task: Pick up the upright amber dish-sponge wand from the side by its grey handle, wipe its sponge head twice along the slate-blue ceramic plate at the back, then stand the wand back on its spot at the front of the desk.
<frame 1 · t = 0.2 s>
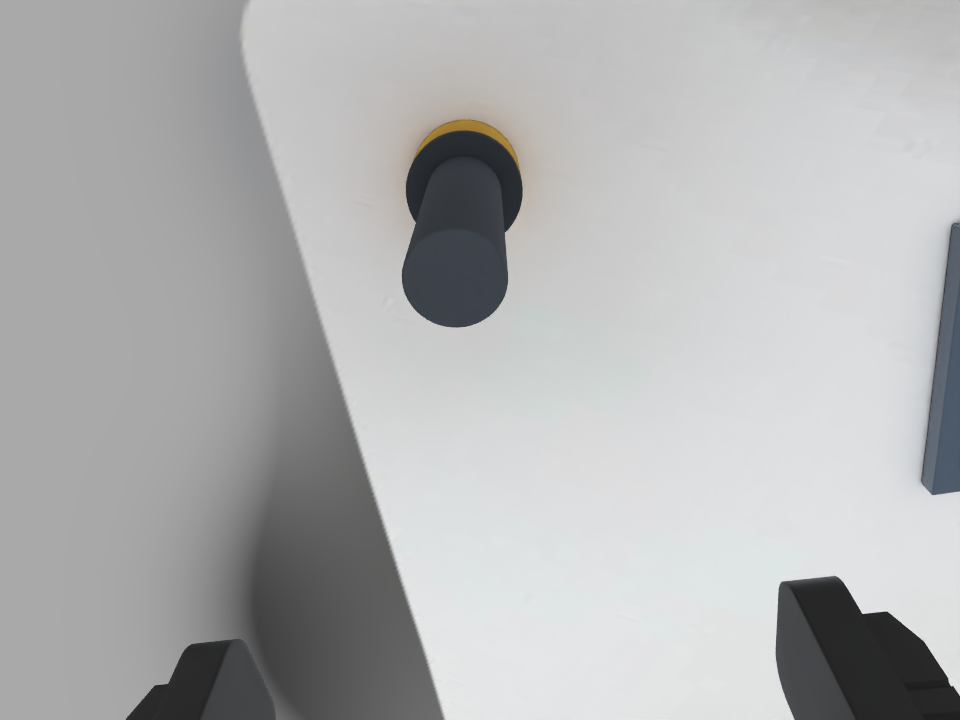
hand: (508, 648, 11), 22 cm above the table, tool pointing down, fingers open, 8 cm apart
sponge wand: (466, 174, 29), on the table
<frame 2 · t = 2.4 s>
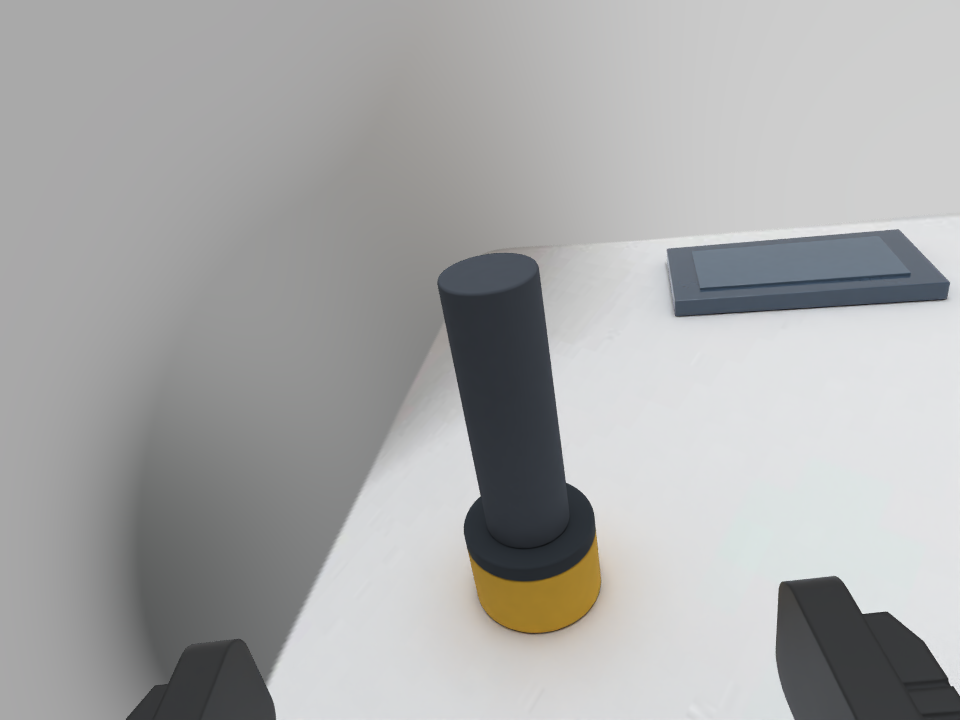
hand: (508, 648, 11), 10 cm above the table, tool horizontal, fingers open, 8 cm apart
plate: (790, 278, 42), on the table
sponge wand: (538, 582, 25), on the table
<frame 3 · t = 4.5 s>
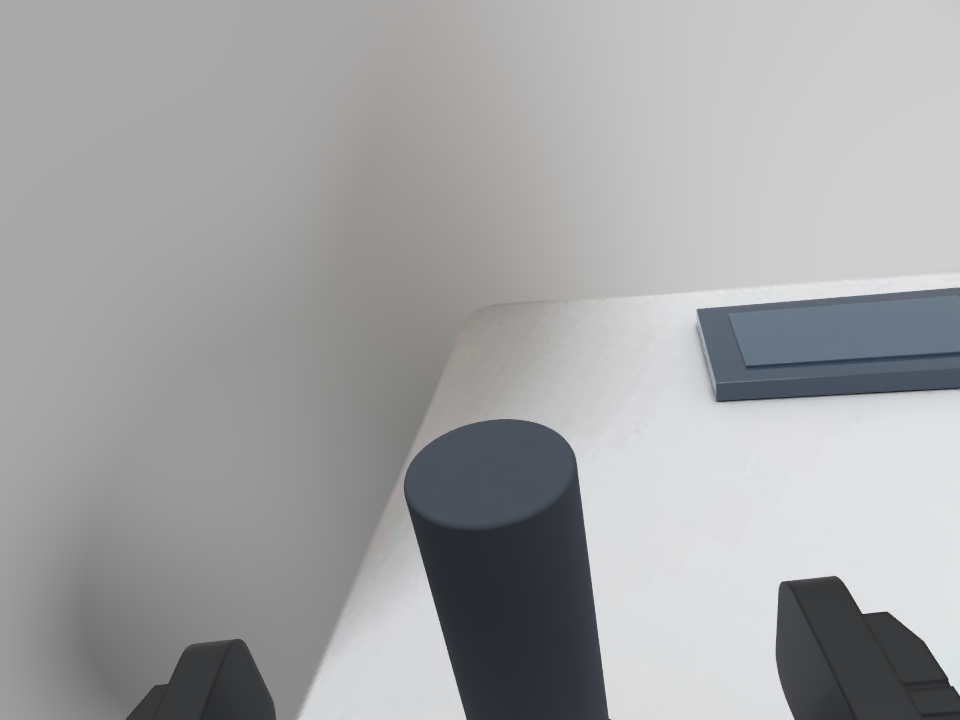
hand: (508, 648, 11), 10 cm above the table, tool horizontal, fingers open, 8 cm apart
plate: (853, 349, 35), on the table
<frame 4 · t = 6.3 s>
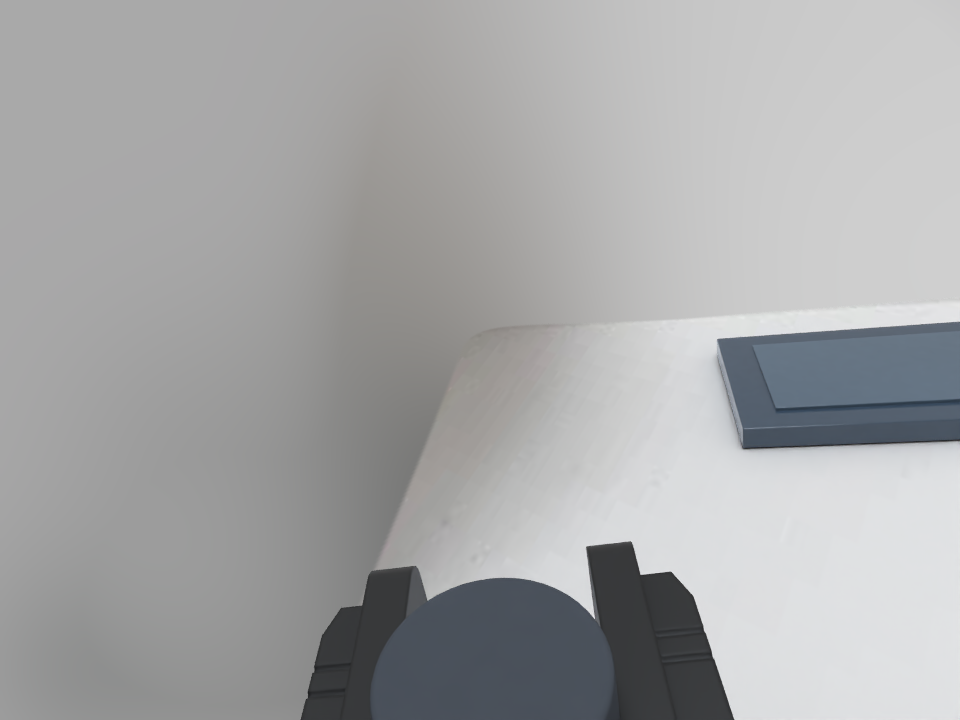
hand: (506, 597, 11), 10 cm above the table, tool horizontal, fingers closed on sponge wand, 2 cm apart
plate: (893, 388, 31), on the table
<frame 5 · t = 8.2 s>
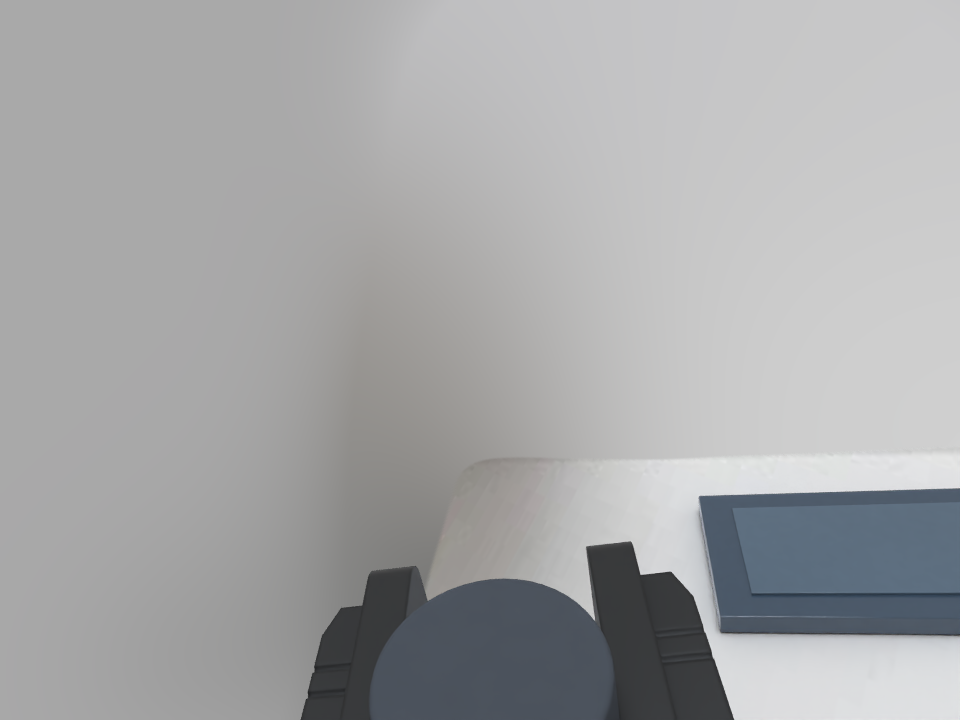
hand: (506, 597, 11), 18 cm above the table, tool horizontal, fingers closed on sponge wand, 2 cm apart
plate: (864, 563, 33), on the table
when the fingers open (10 cm above the table, at t = 22.0 s): sponge wand stays where it is, on the table.
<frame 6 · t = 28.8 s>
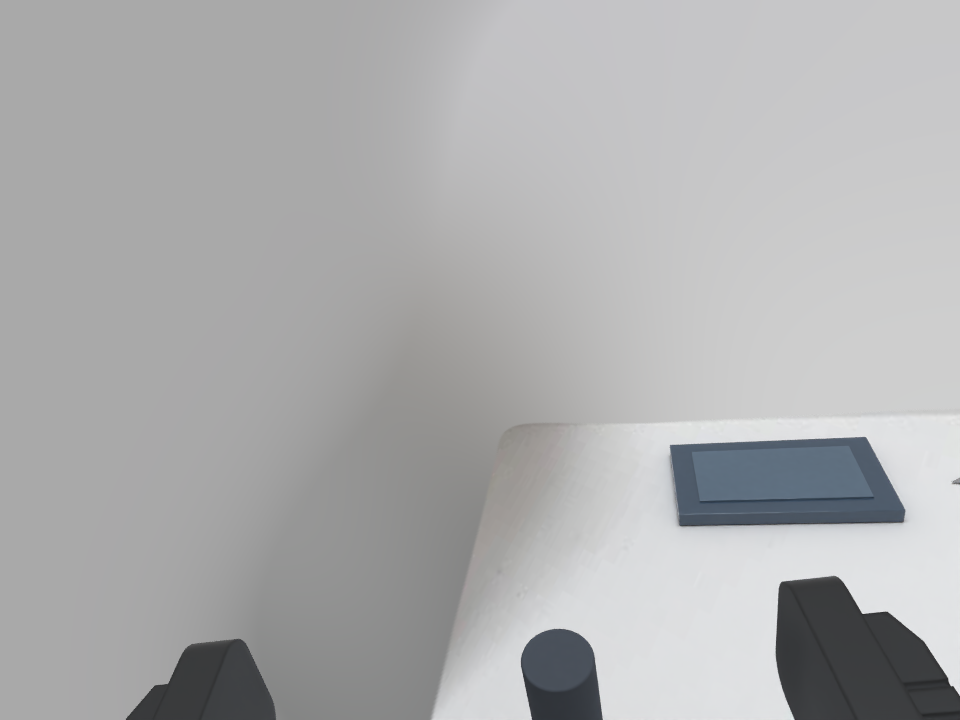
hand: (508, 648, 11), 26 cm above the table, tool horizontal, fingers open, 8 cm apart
plate: (775, 485, 50), on the table
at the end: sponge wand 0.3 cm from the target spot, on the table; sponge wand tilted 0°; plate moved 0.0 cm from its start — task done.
